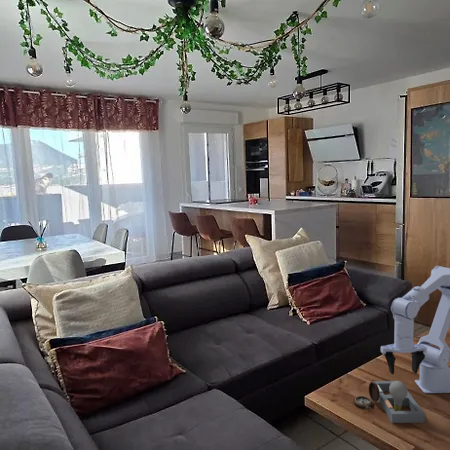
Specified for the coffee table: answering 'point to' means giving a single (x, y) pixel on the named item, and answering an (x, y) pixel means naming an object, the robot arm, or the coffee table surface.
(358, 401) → the compass
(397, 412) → the socket block
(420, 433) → the coffee table surface
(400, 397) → the light bulb
